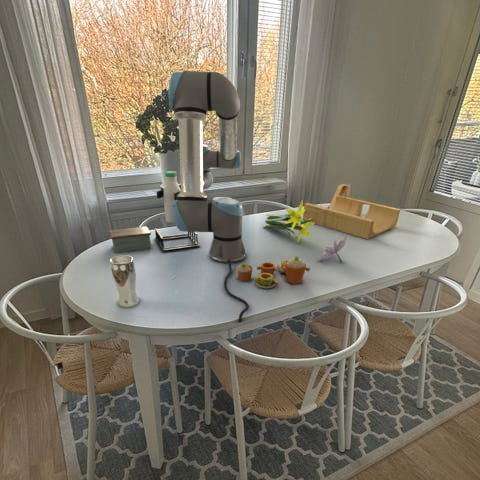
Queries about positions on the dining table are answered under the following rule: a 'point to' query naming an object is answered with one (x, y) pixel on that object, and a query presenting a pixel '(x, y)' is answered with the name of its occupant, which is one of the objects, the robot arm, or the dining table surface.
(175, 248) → the dish rack
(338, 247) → the water lily
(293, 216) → the daffodil flowers
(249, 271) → the toy tea set
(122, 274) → the beer glass
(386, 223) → the skate ramp
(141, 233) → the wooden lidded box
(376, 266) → the dining table surface
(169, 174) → the milk bottle
